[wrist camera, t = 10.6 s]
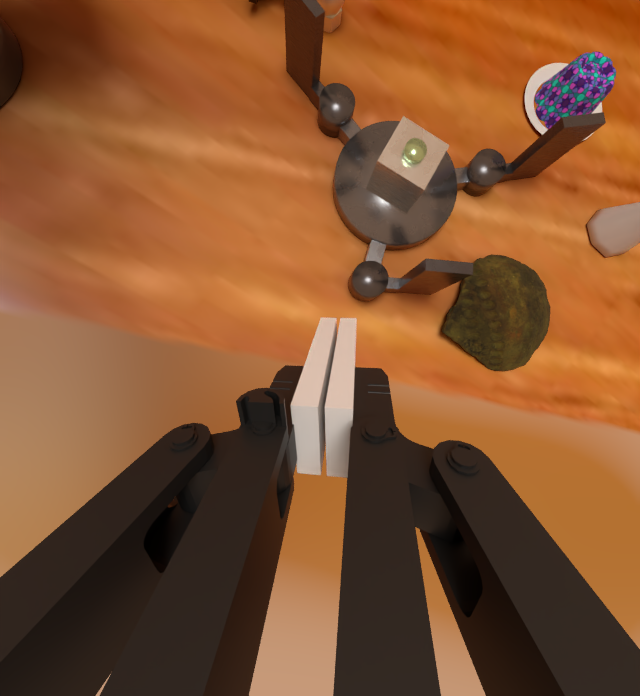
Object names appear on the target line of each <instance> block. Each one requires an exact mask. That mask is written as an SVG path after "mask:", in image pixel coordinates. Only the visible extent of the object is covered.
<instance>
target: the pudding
mask: <svg viewBox="0 0 640 696" xmlns="http://www.w3.org/2000/svg"><path fill="white" fill-rule="evenodd" d="M615 77H616V70H615V68H614V67H613V66H612V61H611V59H610V58H608V57H604V56H603V54H602V53H600V52H592V53H585V54H582V55H580V56H579V57H577V58H576V59H575V60H574V61H572V62H571V63H570V64H565V63H552V64H548V65H546V66H544V67H541V68H540V69H539V70H537V71H536V72H535V73H534V74H533V75H532V77H531V78H530V80H529V82H528V84H527V87H526V90H525V108H526V112H527V115H528V117H529V119H530V121H531V123H532V124H533V126H534V127H535V128H536V130H537V131H538V132H539V133H541V134H542V135H543V134H544V133H545V132H546V131H547V130H548V129H550V128H551V127H552V126H553V125H554V124H555V123H556V122H557V121H558V120H559V119H561V118H562V117H567V116H575V115H584V114H593V113H602V101H603V99H604V98H605V97H606V96H607V95H608V94H609V92H610V91H611V89H612V87H613V85H614V79H615ZM545 81H546V82H545ZM544 82H545V83H544ZM542 83H544V84H543V85H542V89H541V90H539V91H538V92H537V93H536V91H537V89H538V87H539V86H540V85H541V84H542ZM535 93H536V95H535ZM534 96H535V102H536V104H537V108H536V114H537V116H538V118H539V119H540V120H542V121H544V122H545V125H546V127H547V128H548V129H546V128H545V127H544V126H543V125H542V124H541V123H540V121H539V120H538V118H537V116H536V114H535V111H534ZM592 134H593V133H592ZM592 134H590V135H589V136H591V135H592ZM589 136H588V137H589ZM588 137H586V138H585V139H587V138H588ZM585 139H584V140H585Z"/></svg>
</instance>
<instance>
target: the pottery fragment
mask: <svg viewBox="0 0 640 696" xmlns="http://www.w3.org/2000/svg"><path fill="white" fill-rule="evenodd" d="M460 290H461V291H460V294H459V298H458V300H457V302H456V305H455V306H453V307H452V308H451V309H450V310H449V313H447V316H446V317H447V319H446V322H445V323H444V325H443V328H442V332H443V333H444V334H446V336H448V337H450V338H451V339H452V340H453V341H454V342H456V343H458V344H459V345H460V346H461V347H462V348H463V349H464V351H466V352H467V353H469V354H471V355H472V356H475V357H476V358H477V359H478V360H479V361H480V362H481V363H482V364H484V365H485V366H486V367H487V368H489V369H491V370H495V371H508V370H513V369H516V368H518V367H520V366H524V365H525V364H526V363H527V362H528V361H529V360H530V358H531V356H532V354H533V353H534V351H535V350H536V349H538V347H539V346H540V344H541V342H542V341H543V339H544V337H545V336H546V334H547V331H548V326H549V321H550V305H549V302H548V299H547V293H546V288H545V285H544V283H543V282H542V281H541V279H540V278H539V276H538V275H537V273H536V272H535V271H534V270H532V269H531V268H529V267H528V266H526V265H525V264H522V263H520V262H519V261H516V260H514V259H512V258H509V257H506V256H501V255H489V256H487V257H485V258H483V259H482V258H479V259H477V260H476V261H475V262H474V263H473V275H471V276H469V277H467V278H465V279H463V280H462V282H461V284H460Z"/></svg>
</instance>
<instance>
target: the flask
mask: <svg viewBox="0 0 640 696" xmlns="http://www.w3.org/2000/svg"><path fill="white" fill-rule="evenodd" d="M587 228H588V232H589V236H590V240H591V244H592V245H593V246H594V247H595V248H596V249H597V250H598V251H600V252H601V253H602V254H603V255H604V256H605V257H610V256H615V255H619V254H624V253H625V252H627V251H628V250H630V249H631V248H633V247H634V246H636V245H637V244H638V243H640V202H638V203H633V204H627V205H621V206H616V207H611V208H605V209H600V210H598V211H597V212H596V213H595V214H594V216H593V217H592V218H591V219H590V221H589V222H588V223H587Z"/></svg>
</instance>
